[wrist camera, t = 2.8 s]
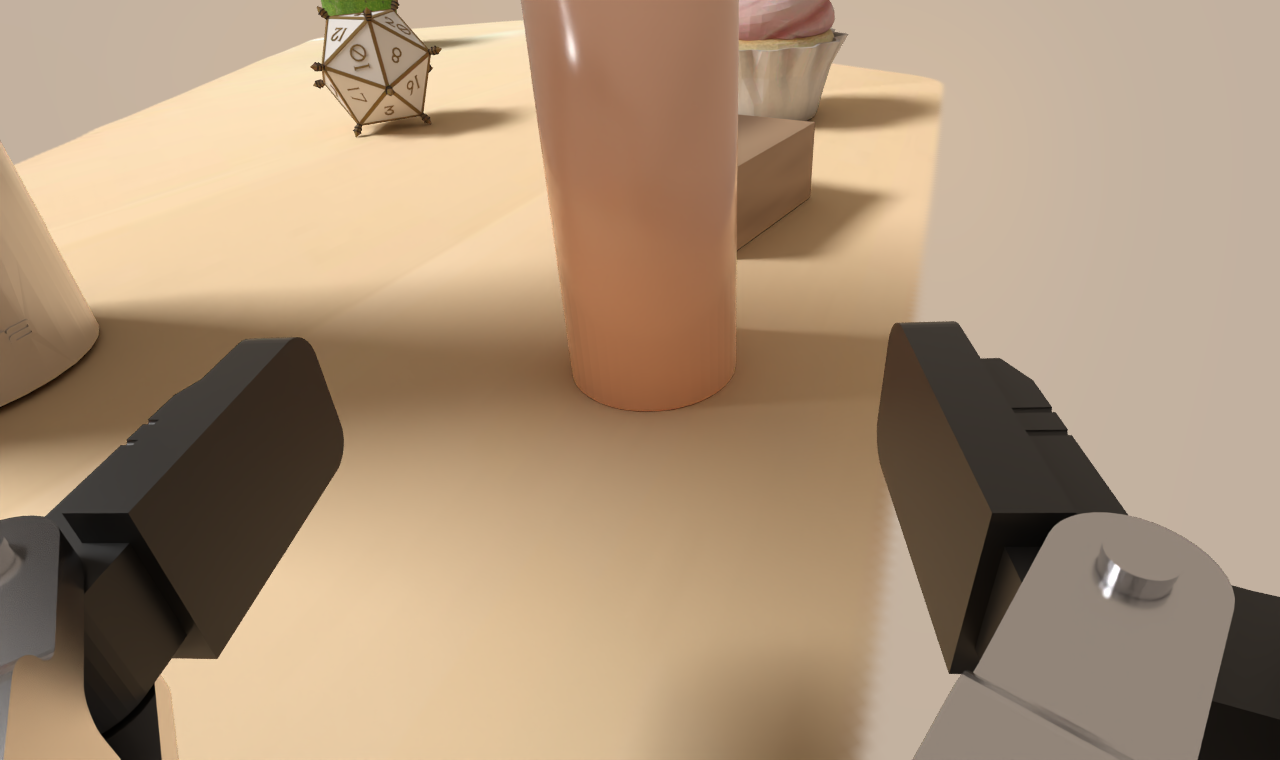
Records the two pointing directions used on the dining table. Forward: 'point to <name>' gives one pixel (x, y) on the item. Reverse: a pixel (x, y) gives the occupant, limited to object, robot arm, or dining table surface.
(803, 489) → the dining table surface
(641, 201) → the peach cylinder
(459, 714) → the dining table surface
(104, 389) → the dining table surface
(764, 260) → the dining table surface
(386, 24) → the game die
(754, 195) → the walnut base
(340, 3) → the avocado
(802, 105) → the cupcake
